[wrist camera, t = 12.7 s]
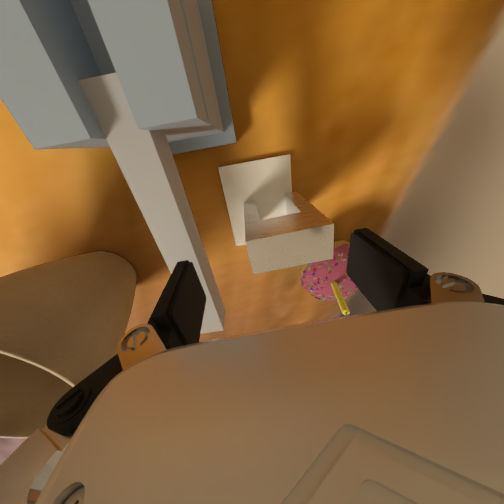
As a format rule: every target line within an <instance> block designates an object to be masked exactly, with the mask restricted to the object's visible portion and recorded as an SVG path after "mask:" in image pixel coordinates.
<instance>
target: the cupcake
mask: <svg viewBox="0 0 504 504" xmlns="http://www.w3.org/2000/svg"><path fill="white" fill-rule="evenodd" d="M349 246H350V243H349V242H347V241H344V240H339V241H336V242H334V248H333V259H329V260H324V261H319V262H314V263H308V264H303V265H301V272H300V277H301V278H300V281H301V285H302V286H303V288H304V289H305V290H307V291H308V292H309V293H310V294H311V295H312V296H315V297H316V299H317V298H318V299H321V300H325V301H327V300H337V301H338V303H339V306H340V308H341V311H342V313H343V314H344V315H346V316H348V314H349V313H350V311H349V309H348V307H347V305H346V302H345V300H344V298H346V297H348V296H351V295H353V294H354V293H355V292H357V291H358V290H359V289H358V287H357V286H356V285H355V284H354V283H353V281H352V280H351V279H350V278H349V277H348V275H347V272H346V269H347V261H348V253H349Z"/></svg>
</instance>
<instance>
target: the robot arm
mask: <svg viewBox="0 0 504 504" xmlns="http://www.w3.org/2000/svg"><path fill="white" fill-rule="evenodd" d="M346 272H347V275H348V277H349V278H350V279H351V280H352V281H353V283H354V284H355V285H356V286H357V287H358V289H359V290H360V291H361V292H362V293H363V294H364V296H365V297H366V298H367V299H368V301H369V302H370V303H371V304H372V306H373V307H374V308H375V309H376V310H377V311H376V312H370V313H364V314H358V315H352V316H346V317H340V318H334V319H328V320H322V321H316V322H310V323H305V324H299V325H293V326H287V327H281V328H275V329H270V330H264V331H258V332H253V333H247V334H241V335H236V336H230V337H224V338H219V339H214V340H209V341H204V342H199V338H200V332H201V327H202V321H203V316H204V310H205V305H206V295H205V292H204V290H203V287H202V285H201V282H200V280H199V277H198V275H197V272H196V270H195V267H194V265H193V263H192V262H189V261H188V260H185V261H179V262H177V264H176V266H175V268H174V270H173V272H172V274H171V276H170V278H169V280H168V282H167V284H166V286H165V288H164V290H163V292H162V294H161V296H160V298H159V300H158V302H157V304H156V307H155V309H154V311H153V313H152V315H151V317H150V319H149V321H148V323H147V324H141V325H138V326H136V327H134V328H132V329H131V330H129V331H128V332H127V333H126V334H125V335H124V336H123V337H122V338H121V339H120V341H119V342H118V345H117V353H118V354H116V355H115V356H114V357H112V358H111V359H110V360H108V361H107V362H106V363H104V364H103V365H102V366H100V367H99V368H98V369H96V370H95V371H94V372H93V373H91V374H90V375H89V376H87V377H86V378H85V379H83V380H82V381H81V382H79V383H78V384H77V385H75V386H74V387H73V388H71V389H70V390H69V391H68V392H67V393H65V394H64V395H63V396H62V397H61V398H60V399H59V400H58V402H57V403H56V404H55V405H54V407H53V408H52V410H51V411H50V414H49V416H48V418H47V424H46V426H45V427H44V428H43V429H42V430H41V429H38V428H37V429H36V430H35V431H34V432H33V433H32V434H31V435H30V436H29V437H28V438H27V439H26V440H25V441H24V442H23V443H22V444H21V445H20V446H19V447H18V448H17V449H16V450H15V451H14V452H13V453H12V454H11V455H10V456H9V457H8V458H7V459H6V460H5V461H4V462H3V463H2V464H1V465H0V504H504V299H501V298H497V297H493V296H489V295H485V294H482V293H481V290H480V288H479V286H478V285H477V284H476V283H474V282H473V281H472V280H470V279H468V278H465V277H463V276H460V275H456V274H453V273H445V272H442V273H435V274H433V275H431V276H430V275H428V274H427V272H428V269H427V268H426V267H424V266H423V265H421V264H420V263H418V262H417V261H415V260H414V259H412V258H411V257H409V256H408V255H407V254H405V253H404V252H402V251H400V250H399V249H398V248H396V247H394V246H393V245H392V244H390V243H388V242H387V241H386V240H384V239H383V238H381V237H380V236H378V235H377V234H375V233H374V232H372V231H371V230H369V229H367V228H363V229H357V230H355V231H354V233H352V234H351V238H350V246H349V253H348V261H347V269H346Z"/></svg>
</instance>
